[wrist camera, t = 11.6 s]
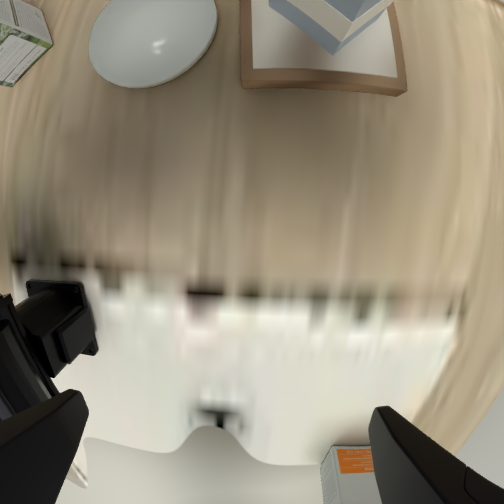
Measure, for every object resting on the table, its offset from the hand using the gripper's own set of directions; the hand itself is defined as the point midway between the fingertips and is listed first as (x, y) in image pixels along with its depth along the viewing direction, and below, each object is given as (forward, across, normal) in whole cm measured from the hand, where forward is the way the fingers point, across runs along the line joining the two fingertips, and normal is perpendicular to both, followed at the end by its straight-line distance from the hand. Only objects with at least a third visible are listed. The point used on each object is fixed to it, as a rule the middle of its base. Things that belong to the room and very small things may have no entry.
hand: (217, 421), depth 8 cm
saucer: (+13, +6, -17) cm, 22 cm away
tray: (+13, -5, -17) cm, 22 cm away
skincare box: (+13, -10, +20) cm, 26 cm away
